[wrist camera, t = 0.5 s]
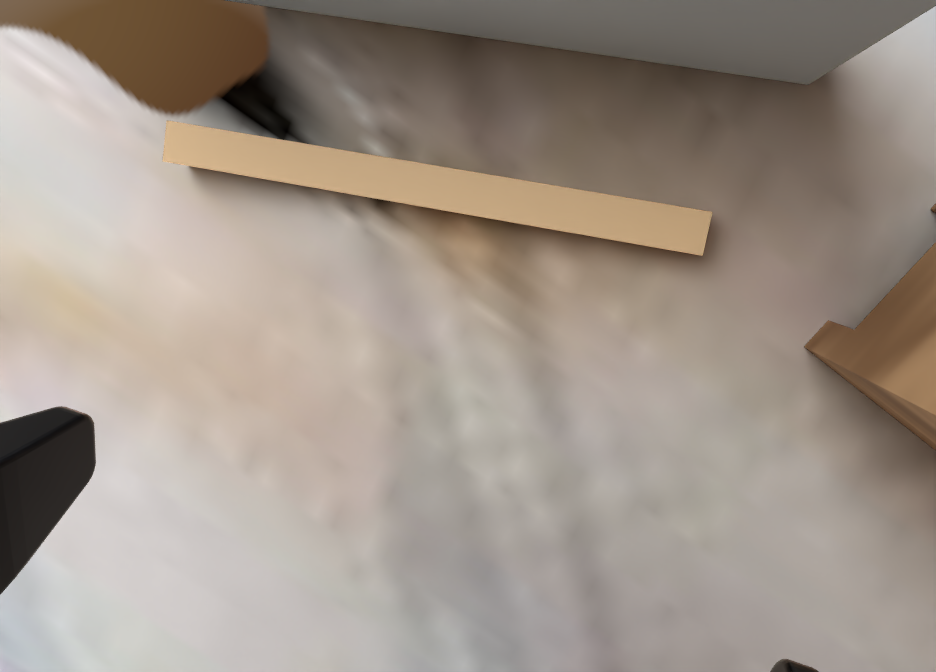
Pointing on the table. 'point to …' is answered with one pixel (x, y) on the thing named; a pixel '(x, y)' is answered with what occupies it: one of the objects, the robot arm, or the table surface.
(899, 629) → the table surface
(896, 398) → the cabinet
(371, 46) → the table surface
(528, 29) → the wall board
